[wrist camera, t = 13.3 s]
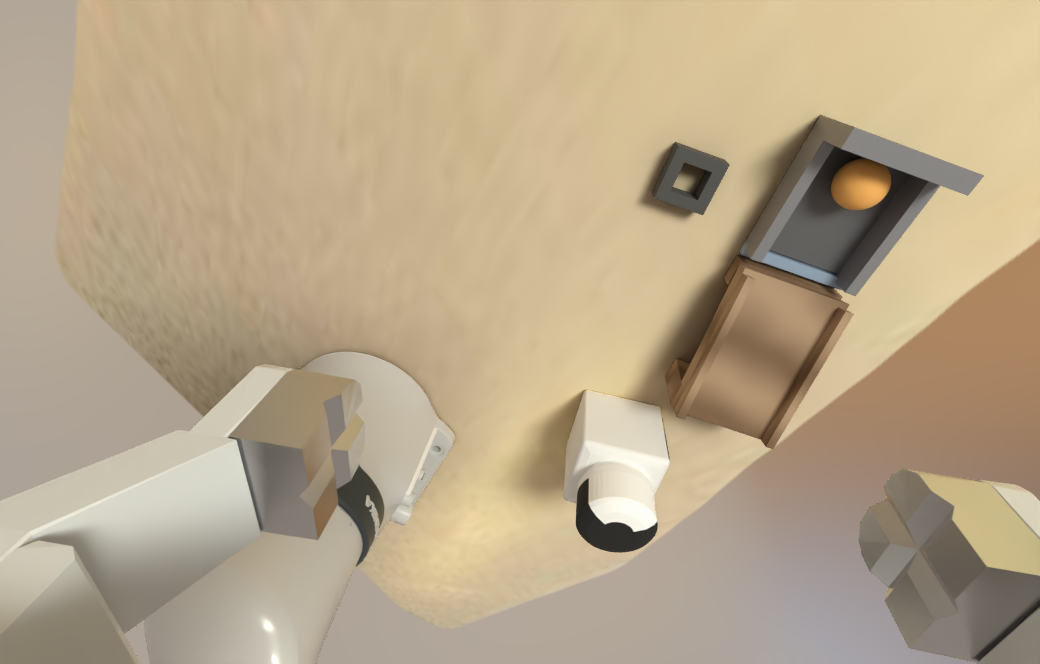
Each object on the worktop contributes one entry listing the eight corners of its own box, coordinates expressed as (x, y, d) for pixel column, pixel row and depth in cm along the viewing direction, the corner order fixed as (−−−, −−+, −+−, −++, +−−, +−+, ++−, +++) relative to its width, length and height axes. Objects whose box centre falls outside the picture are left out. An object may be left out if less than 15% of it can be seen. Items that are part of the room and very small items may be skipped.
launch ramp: (750, 405, 44) (769, 452, 39) (665, 376, 44) (674, 420, 39) (835, 289, 38) (871, 328, 33) (737, 254, 38) (759, 289, 33)
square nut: (699, 208, 36) (702, 215, 35) (652, 192, 36) (654, 198, 35) (724, 159, 34) (729, 164, 33) (675, 142, 34) (678, 146, 33)
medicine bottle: (637, 460, 49) (648, 572, 39) (566, 443, 49) (558, 551, 39) (661, 405, 46) (680, 513, 35) (584, 387, 46) (581, 490, 35)
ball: (850, 167, 34) (830, 212, 35) (837, 148, 32) (816, 196, 33) (904, 172, 32) (882, 220, 33) (895, 152, 30) (871, 204, 30)
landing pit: (838, 286, 38) (868, 318, 34) (739, 251, 37) (757, 279, 33) (933, 156, 33) (984, 175, 28) (820, 114, 32) (854, 127, 28)
